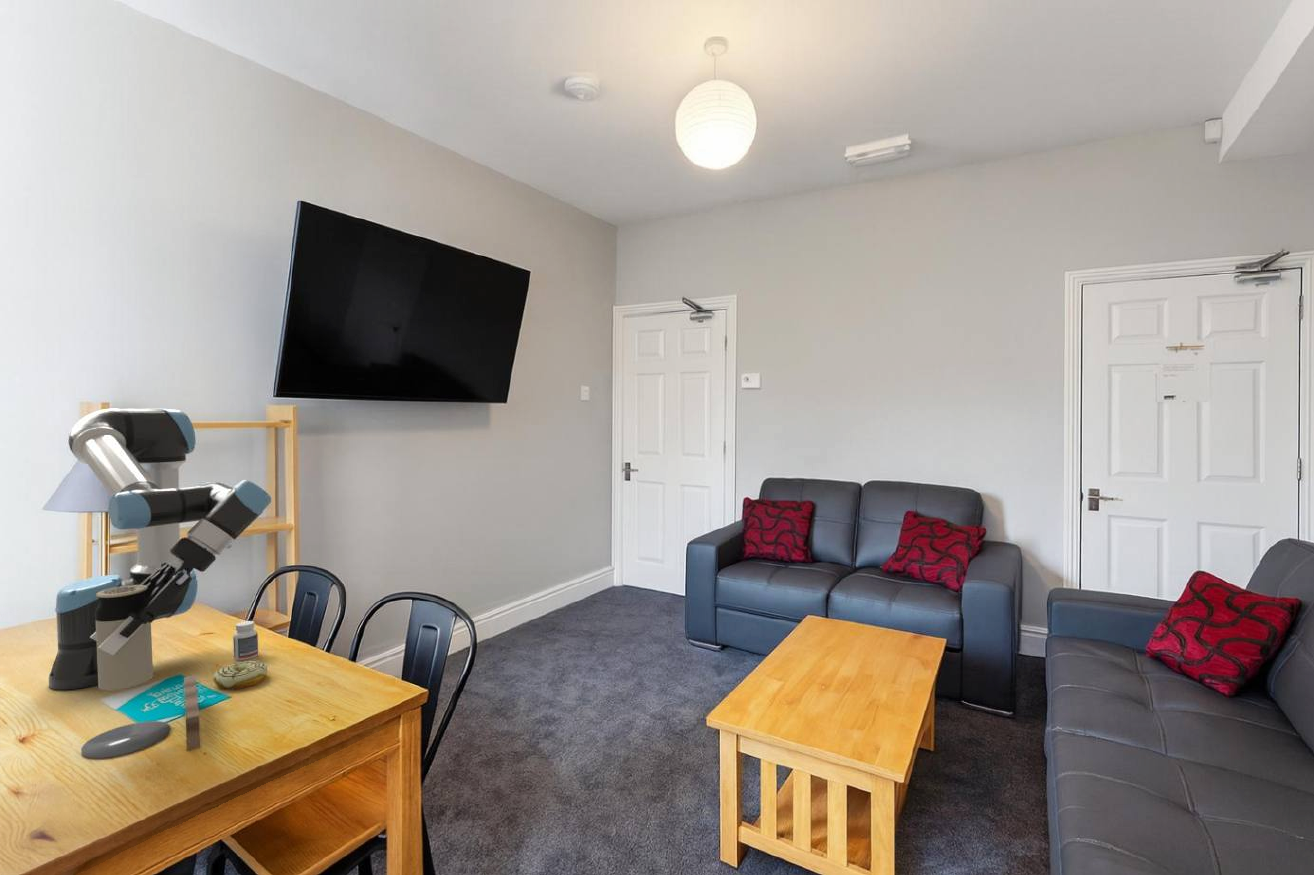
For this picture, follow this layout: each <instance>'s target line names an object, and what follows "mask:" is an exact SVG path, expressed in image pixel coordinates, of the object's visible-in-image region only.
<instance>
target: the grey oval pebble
mask: <svg viewBox="0 0 1314 875" xmlns="http://www.w3.org/2000/svg"><path fill="white" fill-rule="evenodd" d="M169 731H171V726H170V724H169V723H168V722H165V721H161V720H154V721H153V720H148V721H139V722H136V723H135V722H134V723H129V724H125V725H122V726H119V727H114V728H113V729H110V730H107V731H104V732H102V733H100V734H98V735H96V736H94V737H92V738H90V739H89V740H87V741H86V742H85V743H84V744H83V745H82V746H81V749H80V751H81V755H82V757H84V758H87V759H95V760H96V759H97V760H102V759H110V758H116V757H121V756H125V755H129V754H133V753H135V752H138V751H141V750H143V749H144V750H145V749H146V748H148V747H151V746H153V745H155V744H157V743H159V742H160V741H162V740H164V739H165V738H166V737H168V735H169V734H168V733H170V732H169Z"/></svg>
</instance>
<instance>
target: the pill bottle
mask: <svg viewBox="0 0 1314 875" xmlns="http://www.w3.org/2000/svg"><path fill="white" fill-rule="evenodd" d="M235 631H236V632H234V634H233V636H232V637H233V638H232V639H233V640H232V641H233V642H232V644H233V659H234V660H235V661H247V660H246V659H248V660H251V659H254V658H256V657H258V656H259V645H258V644H259V642H258V641H259V637H258V635H259V634H258V630H256V629H255V621H252V620H246V621H241V622H238V623H236V624H235Z"/></svg>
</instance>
